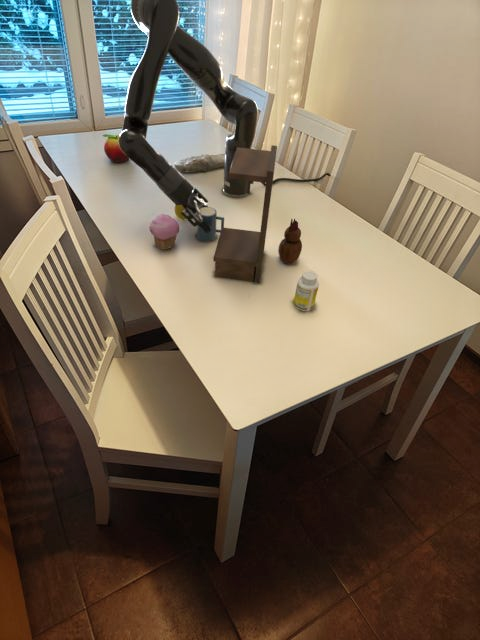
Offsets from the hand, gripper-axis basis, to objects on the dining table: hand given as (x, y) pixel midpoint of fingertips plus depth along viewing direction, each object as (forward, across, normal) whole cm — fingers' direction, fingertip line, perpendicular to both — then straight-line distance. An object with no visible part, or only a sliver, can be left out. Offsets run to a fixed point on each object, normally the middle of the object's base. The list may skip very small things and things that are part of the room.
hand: (211, 224), depth 138 cm
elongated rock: (-2, +54, +9) cm, 55 cm away
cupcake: (-6, -8, +13) cm, 16 cm away
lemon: (-4, +8, +11) cm, 14 cm away
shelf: (+10, -13, -4) cm, 17 cm away
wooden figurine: (+21, -8, -14) cm, 27 cm away
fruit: (-29, +49, +36) cm, 68 cm away
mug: (+3, 0, +4) cm, 5 cm away
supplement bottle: (+25, -28, -18) cm, 41 cm away
